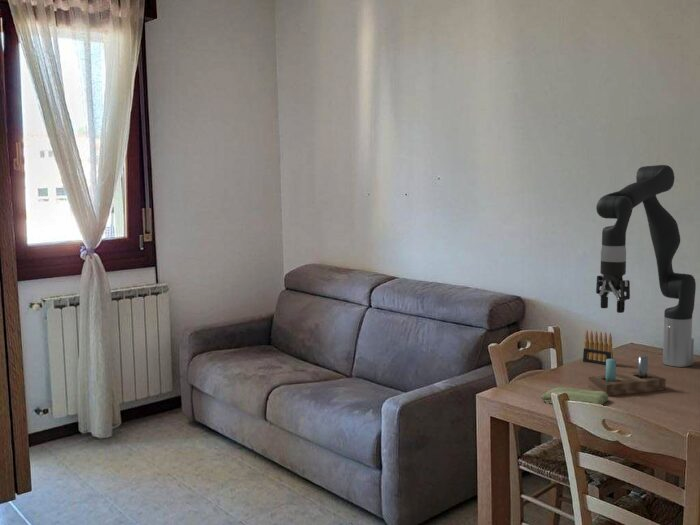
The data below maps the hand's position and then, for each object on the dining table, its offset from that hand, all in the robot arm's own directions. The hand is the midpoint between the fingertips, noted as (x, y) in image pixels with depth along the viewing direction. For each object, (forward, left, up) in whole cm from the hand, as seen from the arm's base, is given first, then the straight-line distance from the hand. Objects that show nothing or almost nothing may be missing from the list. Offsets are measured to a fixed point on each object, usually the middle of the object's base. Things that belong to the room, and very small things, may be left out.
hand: (612, 310), depth 229 cm
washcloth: (+17, +7, -27) cm, 32 cm away
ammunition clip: (-16, -31, -26) cm, 44 cm away
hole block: (-6, 0, -26) cm, 27 cm away
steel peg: (-12, 0, -26) cm, 29 cm away
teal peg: (0, 0, -26) cm, 26 cm away
